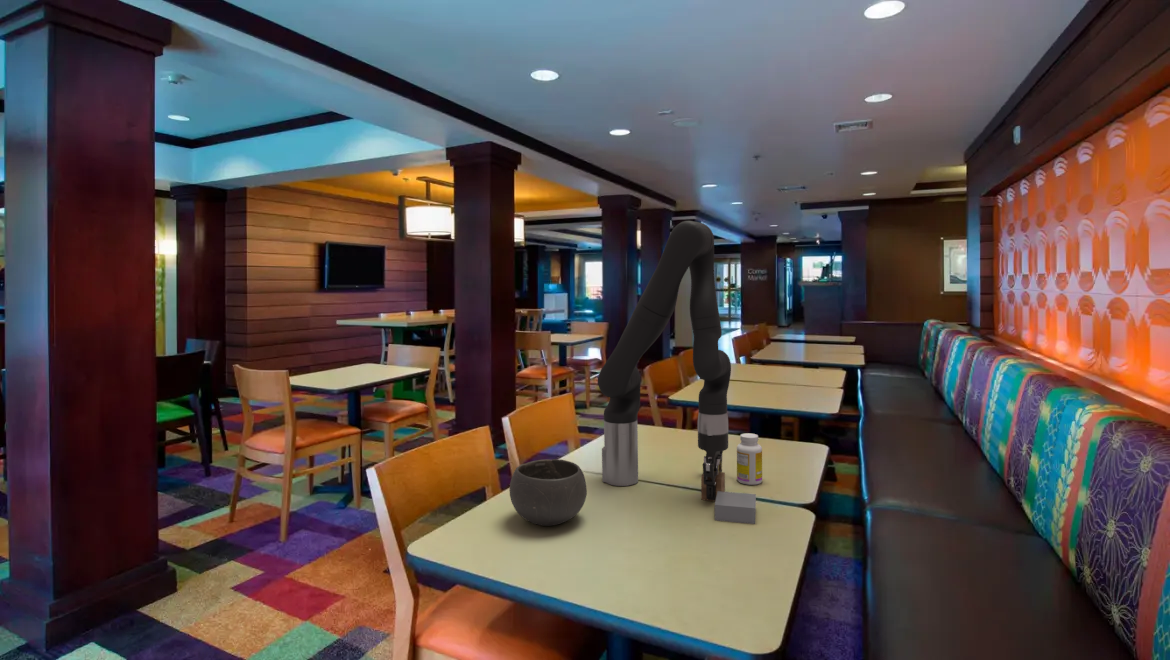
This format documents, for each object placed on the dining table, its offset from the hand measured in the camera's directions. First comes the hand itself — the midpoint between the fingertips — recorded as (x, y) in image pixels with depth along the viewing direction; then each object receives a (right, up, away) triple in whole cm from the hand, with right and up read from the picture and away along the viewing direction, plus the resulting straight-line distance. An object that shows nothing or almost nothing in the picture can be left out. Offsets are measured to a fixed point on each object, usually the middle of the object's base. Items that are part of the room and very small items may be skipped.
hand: (713, 495), depth 151 cm
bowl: (-41, -3, -12) cm, 43 cm away
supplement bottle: (+12, 0, +11) cm, 17 cm away
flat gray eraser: (+3, -2, -11) cm, 11 cm away
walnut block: (0, -1, 0) cm, 1 cm away
